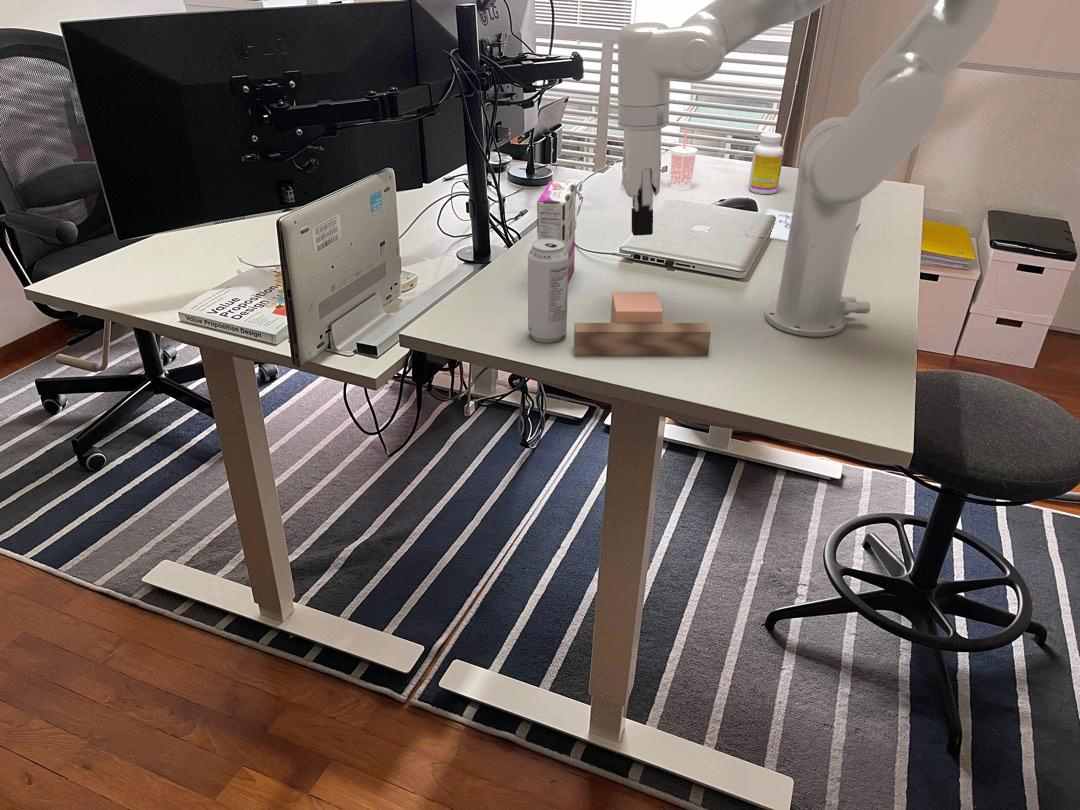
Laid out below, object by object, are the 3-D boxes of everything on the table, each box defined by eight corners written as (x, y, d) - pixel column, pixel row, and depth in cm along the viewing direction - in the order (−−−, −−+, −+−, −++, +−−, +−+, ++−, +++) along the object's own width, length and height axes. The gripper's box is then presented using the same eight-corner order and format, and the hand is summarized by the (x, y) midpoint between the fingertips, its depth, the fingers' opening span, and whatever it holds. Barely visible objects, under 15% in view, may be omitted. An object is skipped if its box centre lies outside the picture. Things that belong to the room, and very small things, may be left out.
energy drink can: (544, 323, 133) (545, 234, 125) (574, 334, 130) (577, 243, 122) (520, 336, 129) (519, 244, 121) (550, 348, 126) (551, 254, 118)
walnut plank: (704, 346, 126) (707, 322, 124) (708, 355, 124) (711, 331, 122) (573, 346, 126) (574, 322, 124) (574, 355, 124) (575, 331, 122)
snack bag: (843, 255, 160) (845, 245, 159) (741, 237, 168) (742, 227, 167) (860, 226, 175) (863, 216, 173) (766, 211, 183) (767, 201, 181)
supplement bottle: (780, 195, 190) (789, 138, 184) (751, 195, 190) (759, 138, 184) (773, 186, 196) (782, 131, 189) (745, 186, 196) (753, 130, 189)
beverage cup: (694, 185, 197) (700, 124, 189) (692, 192, 192) (698, 130, 184) (668, 183, 198) (673, 122, 190) (665, 190, 193) (671, 129, 185)
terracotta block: (653, 326, 132) (656, 292, 129) (659, 347, 126) (663, 311, 123) (610, 326, 132) (612, 292, 129) (614, 347, 126) (616, 311, 123)
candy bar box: (548, 268, 152) (549, 179, 144) (574, 270, 152) (577, 181, 143) (535, 292, 143) (536, 199, 135) (564, 295, 142) (566, 201, 134)
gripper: (613, 105, 129) (614, 219, 139) (623, 127, 116) (623, 251, 126) (661, 103, 129) (659, 217, 139) (676, 124, 116) (672, 248, 126)
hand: (642, 233), depth 132 cm, fingers closed
